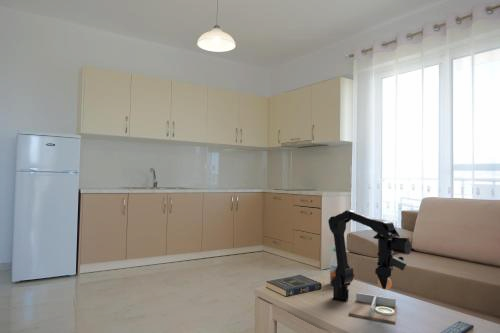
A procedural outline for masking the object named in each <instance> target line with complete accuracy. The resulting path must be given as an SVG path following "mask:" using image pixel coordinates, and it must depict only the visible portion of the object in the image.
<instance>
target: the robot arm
mask: <svg viewBox="0 0 500 333" xmlns="http://www.w3.org/2000/svg"><path fill="white" fill-rule="evenodd" d="M351 221H354V222H355V223H359V224H360V225H363V226H366V227H369V228H370V229H372V231H373V232H374V233H376V235H374V236H373V237H372V238H373V239H375V240H377V262H376V263H377V265H376V267H375V270H374V272H375V273H374V274H376V276H377V278H378V279H379V281H380V283H381V285H382V288H383V289H382V288H381V289H382V290H384V289H386V285H387V280H388V277H389V278H390V277H392V276H393V270H394V268H397V269H398V270H400V271H405V268H406V267H407V264H408V263H407V261H406V260H404V258H405V257H404V256H401V255H410V254H411V252H412V248H413V247H412V244H411V242H410V238H409V237H401V236H400V234H399V232H398V231H397V229H396V228H395V225H394V223H393V222H392V221H391V220H386V219H378V218H374V217H371V216H368V215H366V214H363V213H362V212H361V213H360V212H358V211H356V210H354V209H346V210H344V211H343V212H341V213H338V214H337V215H334V216H331V217H329V219H328V221H327V222H328V227H329V230H330V231H331V233H332V234H333V241H334V247H335V250H336V258H337V268H336V270H335V278H334V279H333V280H332V281H331V282H330V281H329V284H330V283H331V284H330V286H331V287H333V289H332V290H333V294H332V295H333V296H332V300H334V301H339V302H347V301H348V300H349V298H350V289H349V288H348V287H349V286H351V284H352V282H353V281H354V277H355V274H354V268H353V267H350V265H349V262H348V255H347V248H346V247H347V246H346V240H345V232H346V229H347V223H350V222H351ZM393 252H394V253H395V254H396V253H397V254H401V255H399V256H398V257H397V256H394V253H393Z"/></svg>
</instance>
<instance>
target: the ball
mask: <svg viewBox="0 0 500 333" xmlns="http://www.w3.org/2000/svg"><path fill="white" fill-rule="evenodd" d="M377 284H378V287H379V288H380V289H382V290H385V291H386V290H387V291H388V290H389V289H391V287H392V286H393V282H392V280H391V278H390V277H388V280H387V285H386V289H383V288H382V285H381V283H380V281H379V278H378V279H377Z"/></svg>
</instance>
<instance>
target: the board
mask: <svg viewBox="0 0 500 333" xmlns="http://www.w3.org/2000/svg"><path fill="white" fill-rule="evenodd" d="M396 302H397V299H396V298H393V297H387V296H380V295H374V294H368V293H360V292H356V293H355V299H354V301H353V304H352V306H351V308H350V310H349V312H348V316H349V317H354V318H355V317H356V318H360V319H361V318H362V319H365V320H371V321H377V322H382V323H383V322H384V323H387V324H394V325H396V319H397V313H398V312H397V311H398V307H397V304H396Z"/></svg>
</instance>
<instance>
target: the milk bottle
mask: <svg viewBox="0 0 500 333" xmlns="http://www.w3.org/2000/svg"><path fill="white" fill-rule="evenodd" d="M332 252H333V253H332V256H331V258H330V261H329V262H330V263H329V284H330V285H331V283H330V282H331V281H332V280H333V279H334V278H335V270H336V268H337V258H336V250H335V246H334V247H333V248H332Z"/></svg>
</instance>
